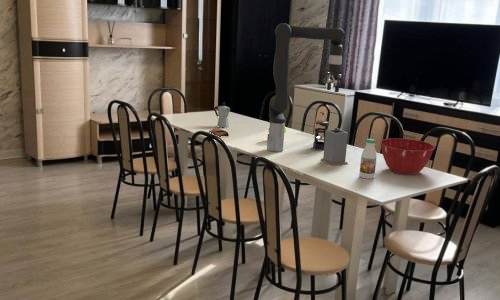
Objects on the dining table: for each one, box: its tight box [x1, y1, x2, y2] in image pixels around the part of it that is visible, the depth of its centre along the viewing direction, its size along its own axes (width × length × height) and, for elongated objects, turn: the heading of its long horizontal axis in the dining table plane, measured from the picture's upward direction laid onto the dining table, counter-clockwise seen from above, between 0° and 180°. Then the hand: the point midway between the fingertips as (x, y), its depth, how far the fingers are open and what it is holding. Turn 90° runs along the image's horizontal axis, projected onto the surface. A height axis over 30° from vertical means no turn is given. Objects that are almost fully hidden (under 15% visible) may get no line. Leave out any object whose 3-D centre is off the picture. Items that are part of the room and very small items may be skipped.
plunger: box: [333, 127, 341, 133], centre depth 289 cm, size 7×7×14 cm
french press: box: [312, 111, 331, 151], centre depth 323 cm, size 12×9×23 cm
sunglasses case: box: [209, 126, 230, 138], centre depth 349 cm, size 18×7×7 cm, turn 30°
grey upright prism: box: [320, 129, 349, 166], centre depth 290 cm, size 11×11×18 cm
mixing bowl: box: [379, 138, 436, 175], centre depth 279 cm, size 28×28×15 cm
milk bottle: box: [358, 138, 378, 180], centre depth 263 cm, size 8×8×20 cm
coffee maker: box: [213, 102, 232, 128], centre depth 374 cm, size 15×9×18 cm, turn 58°
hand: (332, 91), depth 303 cm, fingers open, 8 cm apart
